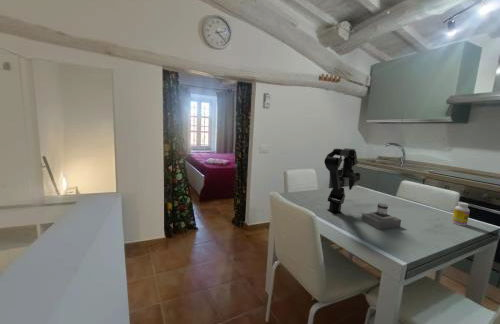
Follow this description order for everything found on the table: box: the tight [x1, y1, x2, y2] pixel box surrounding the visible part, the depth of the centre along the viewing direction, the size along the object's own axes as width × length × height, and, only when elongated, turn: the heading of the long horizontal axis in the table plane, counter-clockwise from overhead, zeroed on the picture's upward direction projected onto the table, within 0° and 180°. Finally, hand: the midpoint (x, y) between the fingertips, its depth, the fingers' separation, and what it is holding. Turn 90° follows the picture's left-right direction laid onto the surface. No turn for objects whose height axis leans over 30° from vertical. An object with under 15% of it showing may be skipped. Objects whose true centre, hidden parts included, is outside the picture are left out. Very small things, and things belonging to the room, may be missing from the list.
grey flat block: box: [361, 211, 402, 230], centre depth 131 cm, size 16×12×6 cm
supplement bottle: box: [451, 201, 471, 227], centre depth 137 cm, size 7×7×13 cm
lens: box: [376, 203, 389, 217], centre depth 130 cm, size 5×5×7 cm
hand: (344, 190), depth 155 cm, fingers open, 9 cm apart
